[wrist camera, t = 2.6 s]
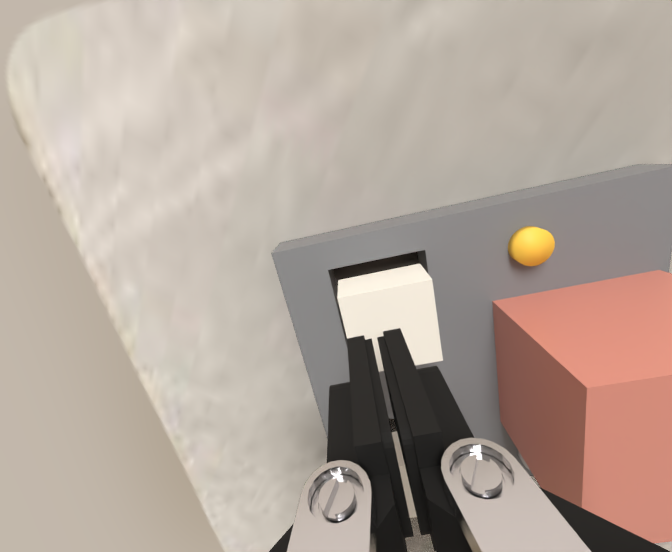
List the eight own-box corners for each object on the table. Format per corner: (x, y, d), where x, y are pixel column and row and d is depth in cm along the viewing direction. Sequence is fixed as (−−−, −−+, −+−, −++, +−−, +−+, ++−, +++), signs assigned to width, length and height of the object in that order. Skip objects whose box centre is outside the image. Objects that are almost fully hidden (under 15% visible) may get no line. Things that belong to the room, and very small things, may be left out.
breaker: (419, 263, 13) (432, 279, 12) (430, 335, 15) (442, 360, 13) (338, 280, 14) (337, 298, 12) (354, 349, 15) (356, 375, 13)
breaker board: (638, 164, 14) (698, 164, 12) (615, 432, 19) (654, 471, 17) (280, 242, 16) (268, 257, 13) (346, 470, 21) (346, 510, 19)
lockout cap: (659, 269, 14) (879, 342, 8) (644, 399, 16) (806, 526, 10) (492, 301, 14) (587, 387, 9) (500, 421, 17) (579, 551, 11)
